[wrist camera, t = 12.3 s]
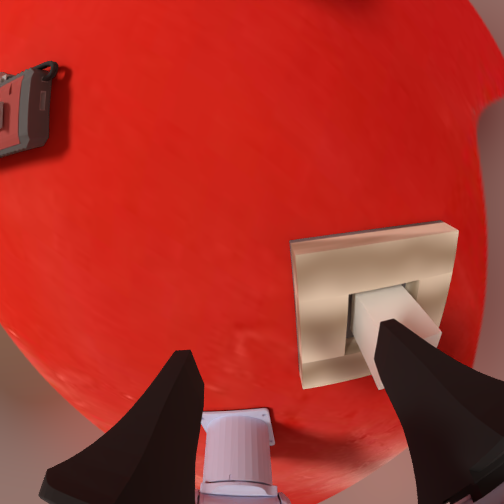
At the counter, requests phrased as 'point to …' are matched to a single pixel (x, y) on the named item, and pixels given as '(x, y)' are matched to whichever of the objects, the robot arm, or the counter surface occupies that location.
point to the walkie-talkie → (25, 108)
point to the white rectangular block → (384, 308)
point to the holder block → (362, 288)
